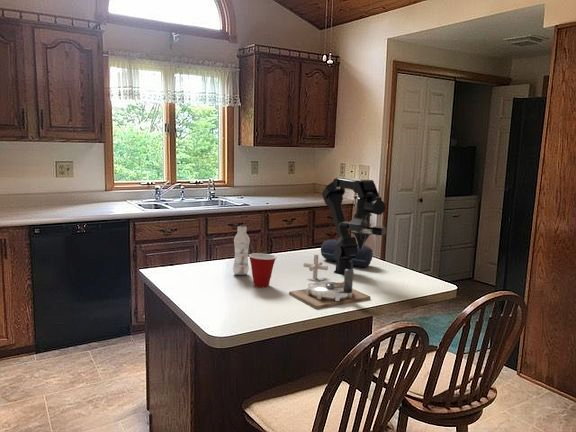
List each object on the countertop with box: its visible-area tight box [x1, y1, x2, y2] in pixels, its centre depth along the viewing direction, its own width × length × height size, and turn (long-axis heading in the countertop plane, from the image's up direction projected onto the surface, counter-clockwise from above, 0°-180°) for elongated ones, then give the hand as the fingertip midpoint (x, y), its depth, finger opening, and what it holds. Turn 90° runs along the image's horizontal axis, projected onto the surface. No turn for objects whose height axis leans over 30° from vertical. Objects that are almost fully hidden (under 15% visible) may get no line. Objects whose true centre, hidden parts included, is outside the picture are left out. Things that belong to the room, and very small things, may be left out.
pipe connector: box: [303, 253, 329, 280], centre depth 197 cm, size 10×10×10 cm
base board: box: [288, 280, 371, 310], centre depth 174 cm, size 24×17×3 cm
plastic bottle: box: [232, 225, 251, 276], centre depth 196 cm, size 6×7×20 cm
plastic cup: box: [248, 252, 277, 288], centre depth 184 cm, size 11×11×12 cm
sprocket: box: [306, 268, 354, 301], centre depth 174 cm, size 17×17×10 cm
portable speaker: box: [320, 239, 373, 268], centre depth 224 cm, size 25×10×10 cm, turn 53°
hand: (360, 249), depth 196 cm, fingers closed
